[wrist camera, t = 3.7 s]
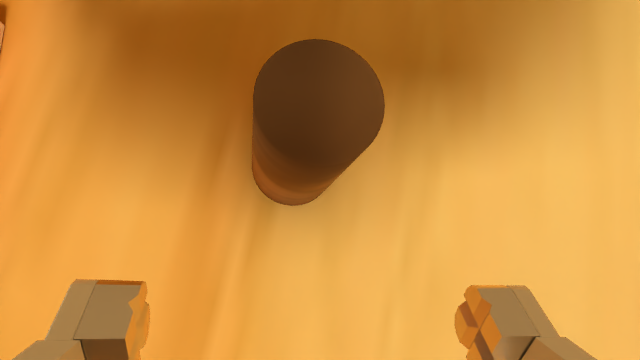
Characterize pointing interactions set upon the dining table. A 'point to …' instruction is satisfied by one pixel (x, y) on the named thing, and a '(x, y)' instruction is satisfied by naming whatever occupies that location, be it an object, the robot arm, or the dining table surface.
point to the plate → (1, 33)
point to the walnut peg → (312, 118)
